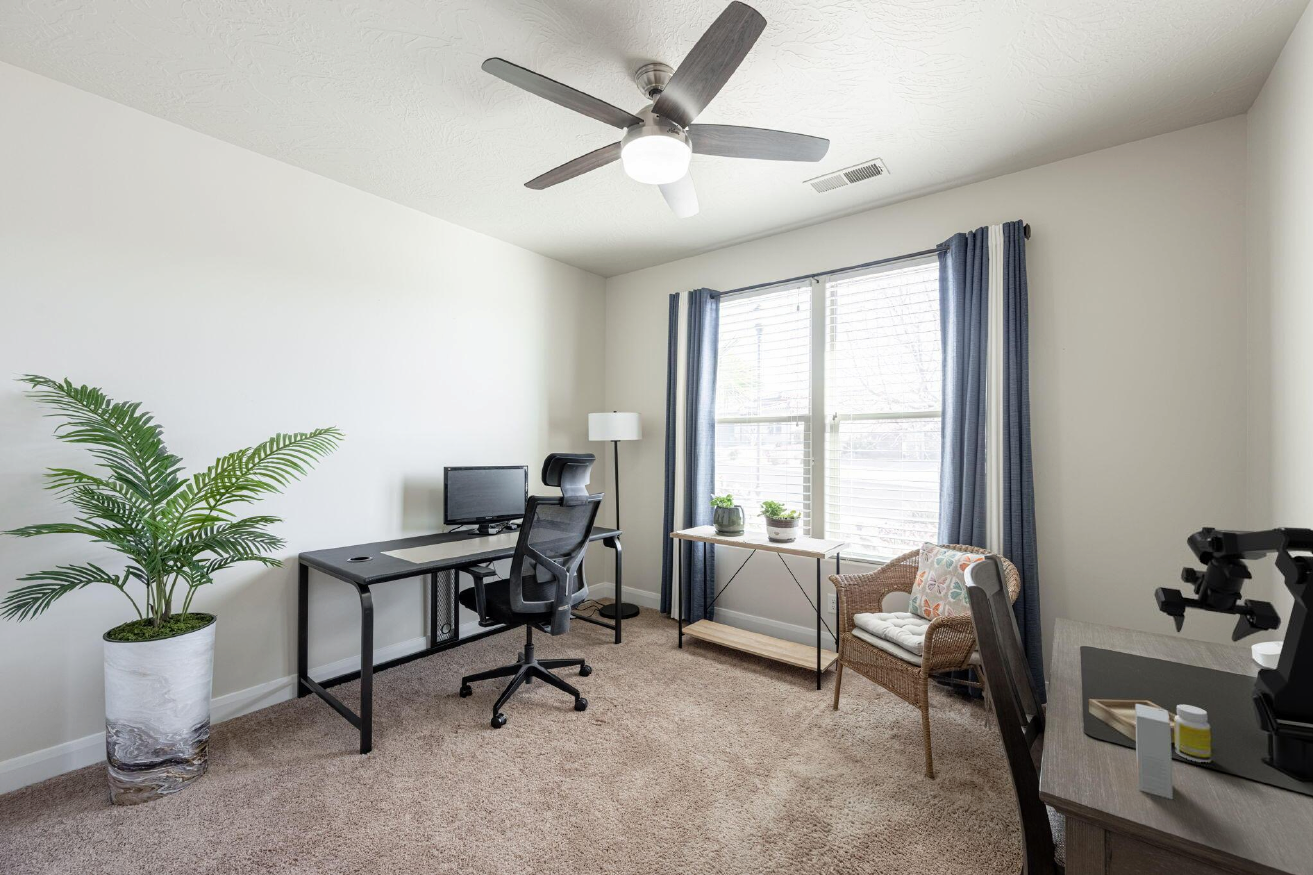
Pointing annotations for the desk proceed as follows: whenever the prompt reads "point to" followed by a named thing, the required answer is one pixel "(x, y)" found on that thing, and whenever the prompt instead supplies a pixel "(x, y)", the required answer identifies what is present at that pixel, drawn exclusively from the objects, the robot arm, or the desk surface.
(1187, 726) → the supplement bottle
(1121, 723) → the wooden tray
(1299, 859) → the desk surface
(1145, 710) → the skincare box
